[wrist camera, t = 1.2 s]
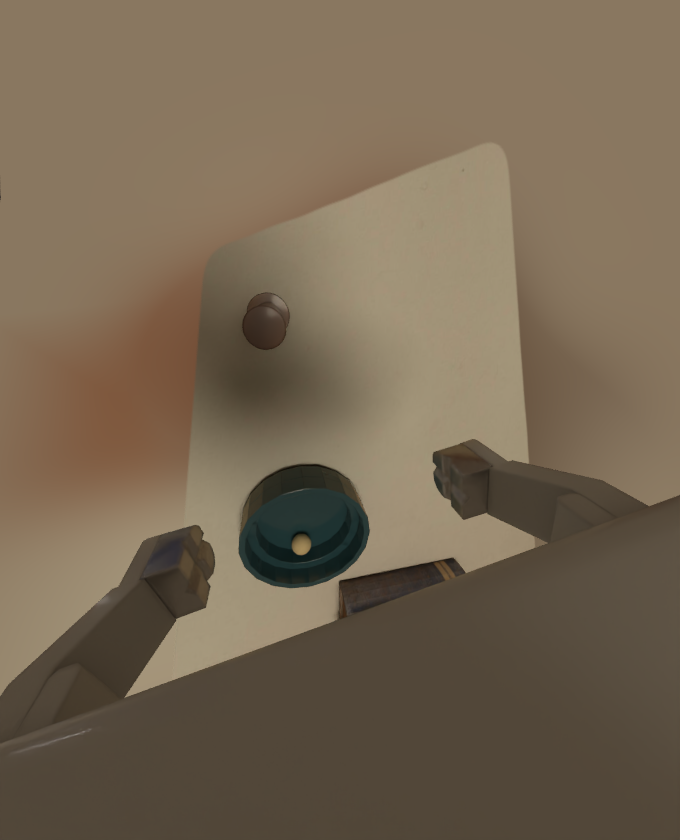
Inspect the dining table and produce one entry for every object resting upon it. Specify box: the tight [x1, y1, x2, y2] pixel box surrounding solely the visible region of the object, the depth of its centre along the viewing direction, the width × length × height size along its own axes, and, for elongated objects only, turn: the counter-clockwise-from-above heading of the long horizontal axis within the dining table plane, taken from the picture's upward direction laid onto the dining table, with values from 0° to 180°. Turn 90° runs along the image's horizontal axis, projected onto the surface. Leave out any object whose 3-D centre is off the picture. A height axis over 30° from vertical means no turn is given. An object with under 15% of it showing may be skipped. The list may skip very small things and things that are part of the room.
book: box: [339, 558, 465, 619], centre depth 54 cm, size 17×7×25 cm
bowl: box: [239, 466, 370, 588], centre depth 41 cm, size 18×18×6 cm
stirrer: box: [242, 293, 290, 350], centre depth 24 cm, size 4×4×16 cm
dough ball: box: [292, 534, 311, 555], centre depth 43 cm, size 3×3×3 cm
